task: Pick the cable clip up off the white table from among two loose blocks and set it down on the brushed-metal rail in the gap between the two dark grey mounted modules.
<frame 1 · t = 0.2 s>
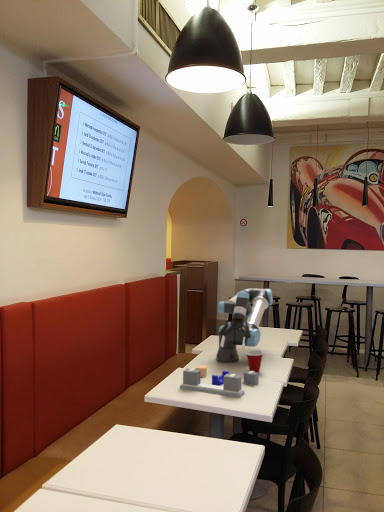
hand: (232, 347, 271), 16 cm above the table, tool tilted 35°, fingers open, 13 cm apart
terminal block: (201, 375, 268), on the table
plastic cup: (254, 371, 276), on the table
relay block: (251, 383, 253), on the table
rail fixture: (211, 390, 240), on the table
cable clip: (219, 384, 252), on the table
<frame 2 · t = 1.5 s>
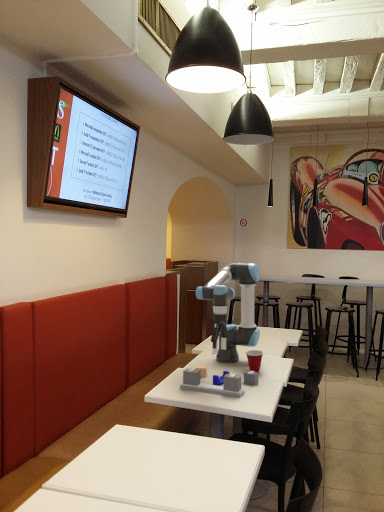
hand: (219, 351, 252), 18 cm above the table, tool pointing down, fingers open, 13 cm apart
nothing on the table moved.
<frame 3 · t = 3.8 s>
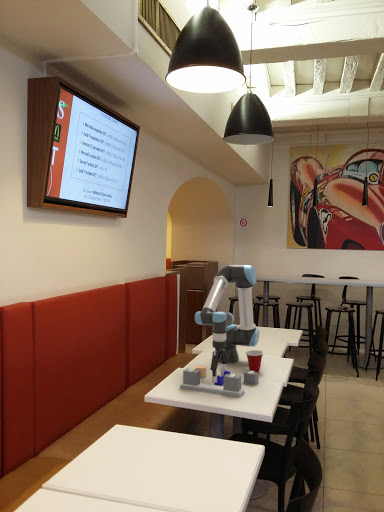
hand: (218, 378, 252), 3 cm above the table, tool pointing down, fingers closed on cable clip, 12 cm apart
cable clip: (221, 384, 252), on the table, touching gripper
everything else where it was.
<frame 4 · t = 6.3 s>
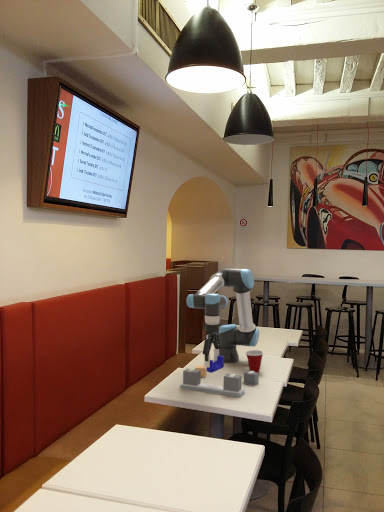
hand: (211, 364, 239), 14 cm above the table, tool pointing down, fingers closed on cable clip, 12 cm apart
cable clip: (214, 369, 239), point 11 cm above the table, touching gripper
everything else where it was.
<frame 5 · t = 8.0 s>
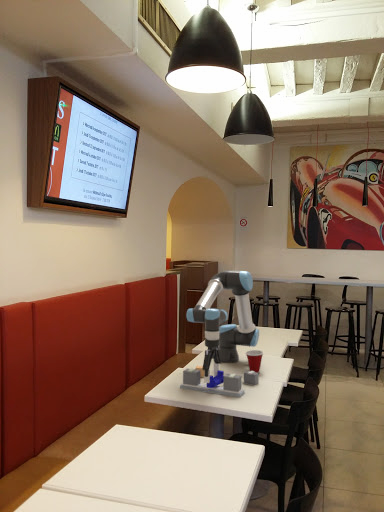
hand: (211, 379, 240), 6 cm above the table, tool pointing down, fingers closed on cable clip, 12 cm apart
cable clip: (214, 384, 239), point 3 cm above the table, touching gripper
everything else where it was.
when the fingers open (6 cm above the table, at t = 9.1 s): cable clip stays where it is, resting on rail fixture.
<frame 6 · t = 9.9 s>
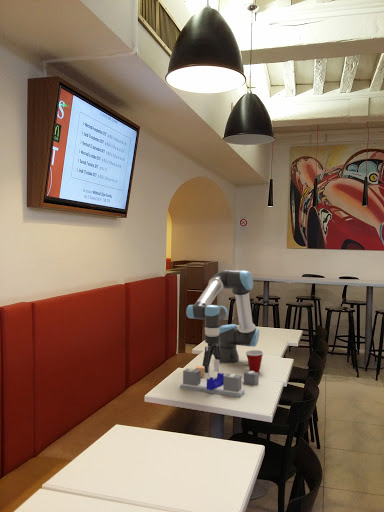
hand: (212, 375, 240), 8 cm above the table, tool pointing down, fingers open, 13 cm apart
cable clip: (213, 387, 239), point 2 cm above the table, touching rail fixture
everything else where it was.
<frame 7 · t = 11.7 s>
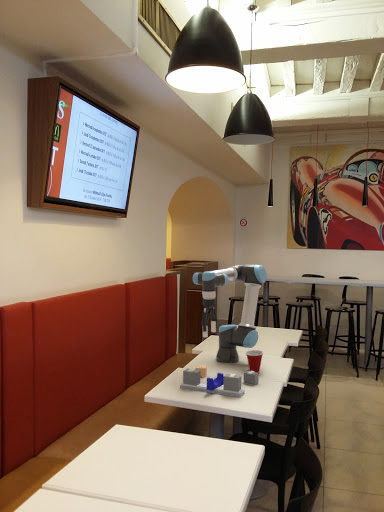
hand: (209, 334, 265), 24 cm above the table, tool pointing down, fingers open, 13 cm apart
nothing on the table moved.
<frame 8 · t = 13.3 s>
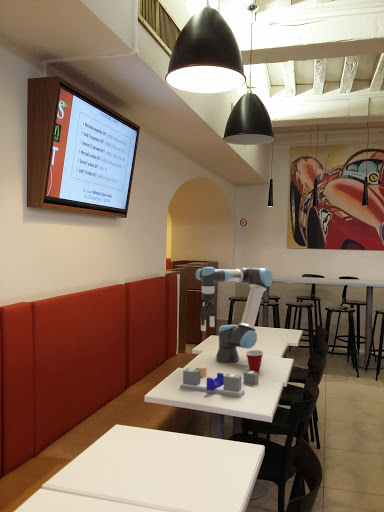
hand: (207, 328, 270), 27 cm above the table, tool pointing down, fingers open, 13 cm apart
nothing on the table moved.
at the end: cable clip inside the target area (1.3 cm from its centre), point 2.1 cm above the table; cable clip tilted 0°; the gripper is holding nothing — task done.
